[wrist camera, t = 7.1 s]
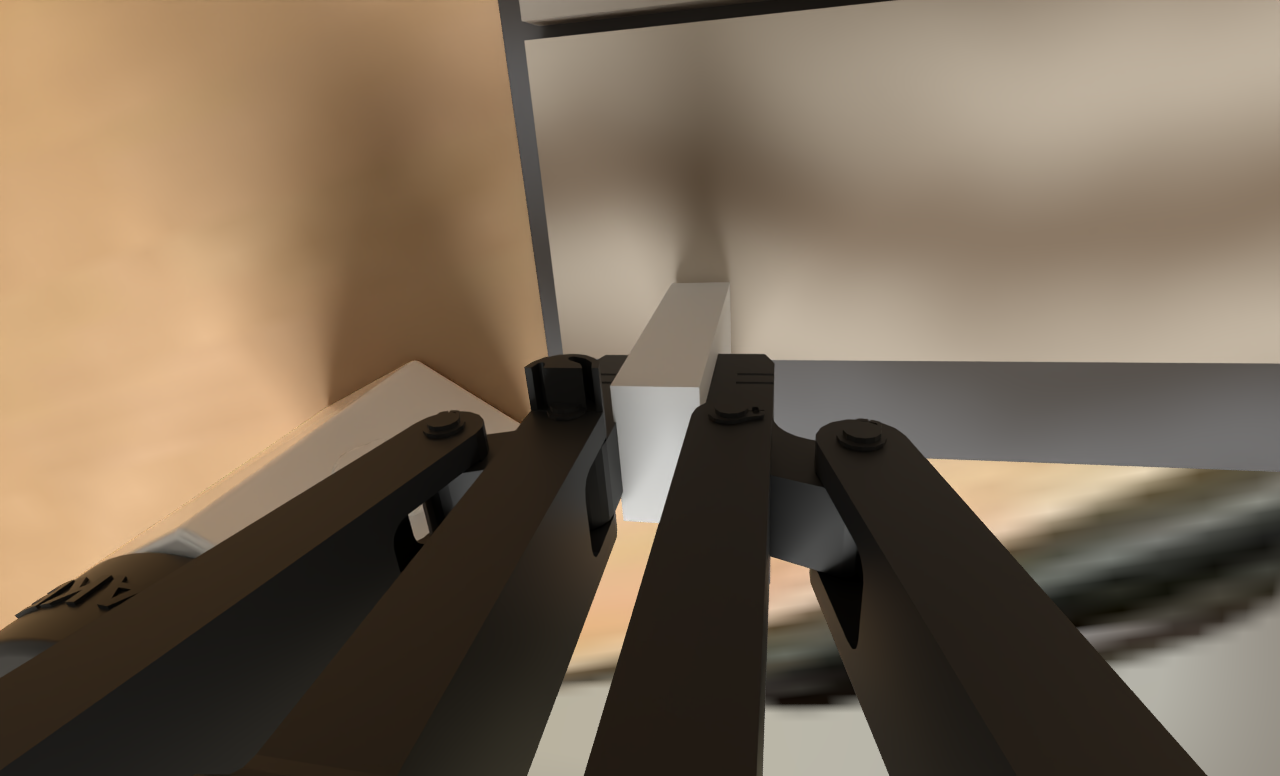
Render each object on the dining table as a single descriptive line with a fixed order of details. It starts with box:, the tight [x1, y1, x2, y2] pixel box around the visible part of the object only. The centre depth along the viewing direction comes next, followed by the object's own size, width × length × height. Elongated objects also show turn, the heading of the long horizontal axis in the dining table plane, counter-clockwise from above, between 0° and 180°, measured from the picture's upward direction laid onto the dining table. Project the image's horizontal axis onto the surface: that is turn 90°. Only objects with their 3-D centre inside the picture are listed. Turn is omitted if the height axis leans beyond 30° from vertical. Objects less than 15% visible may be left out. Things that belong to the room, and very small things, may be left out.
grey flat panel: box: [498, 0, 1280, 472], centre depth 14 cm, size 23×20×1 cm
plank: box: [524, 0, 1280, 364], centre depth 15 cm, size 8×18×1 cm, turn 94°
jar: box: [0, 360, 520, 678], centre depth 17 cm, size 9×8×12 cm
